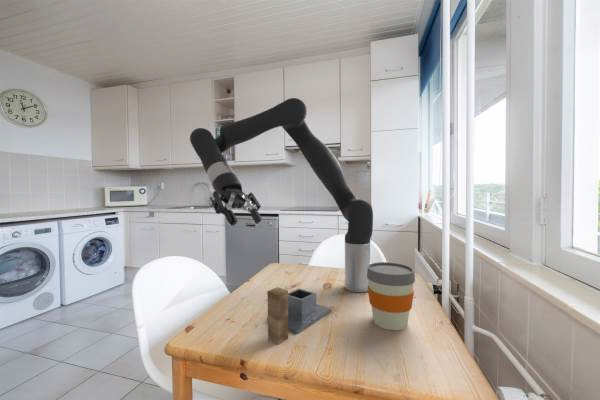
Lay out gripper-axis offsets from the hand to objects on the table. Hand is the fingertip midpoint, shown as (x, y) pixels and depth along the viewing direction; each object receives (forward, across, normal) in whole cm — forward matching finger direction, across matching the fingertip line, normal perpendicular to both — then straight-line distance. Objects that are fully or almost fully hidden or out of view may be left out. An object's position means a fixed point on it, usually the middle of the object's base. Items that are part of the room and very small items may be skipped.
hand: (247, 222), depth 73 cm
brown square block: (+29, 0, +10) cm, 30 cm away
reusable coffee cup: (+41, +25, -4) cm, 48 cm away
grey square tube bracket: (+26, +12, +12) cm, 31 cm away
